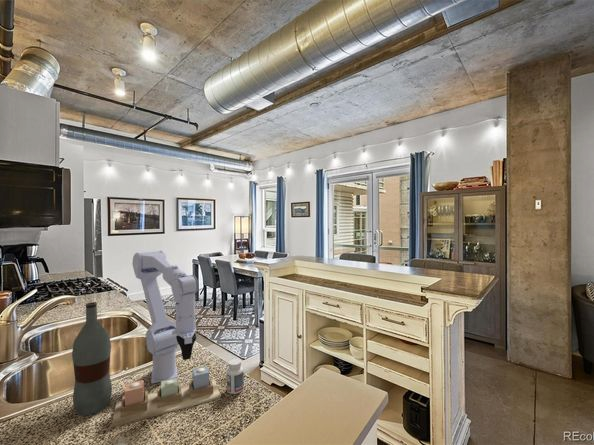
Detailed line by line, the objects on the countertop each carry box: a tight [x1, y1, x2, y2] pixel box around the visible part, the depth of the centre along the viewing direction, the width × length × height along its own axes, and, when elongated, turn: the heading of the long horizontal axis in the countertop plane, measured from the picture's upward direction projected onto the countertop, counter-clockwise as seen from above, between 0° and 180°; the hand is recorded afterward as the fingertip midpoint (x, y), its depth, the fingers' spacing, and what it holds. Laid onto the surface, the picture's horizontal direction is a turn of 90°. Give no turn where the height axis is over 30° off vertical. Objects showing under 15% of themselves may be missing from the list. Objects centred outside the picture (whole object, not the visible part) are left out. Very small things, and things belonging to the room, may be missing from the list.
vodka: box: [71, 301, 113, 417], centre depth 84 cm, size 9×9×30 cm
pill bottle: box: [225, 358, 245, 395], centre depth 92 cm, size 5×5×9 cm
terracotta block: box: [124, 379, 145, 407], centre depth 83 cm, size 4×4×5 cm
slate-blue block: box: [192, 365, 210, 389], centre depth 90 cm, size 4×4×5 cm
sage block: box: [160, 377, 178, 398], centre depth 87 cm, size 4×4×5 cm
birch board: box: [111, 375, 222, 428], centre depth 87 cm, size 11×28×3 cm, turn 116°
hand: (186, 358), depth 91 cm, fingers closed
